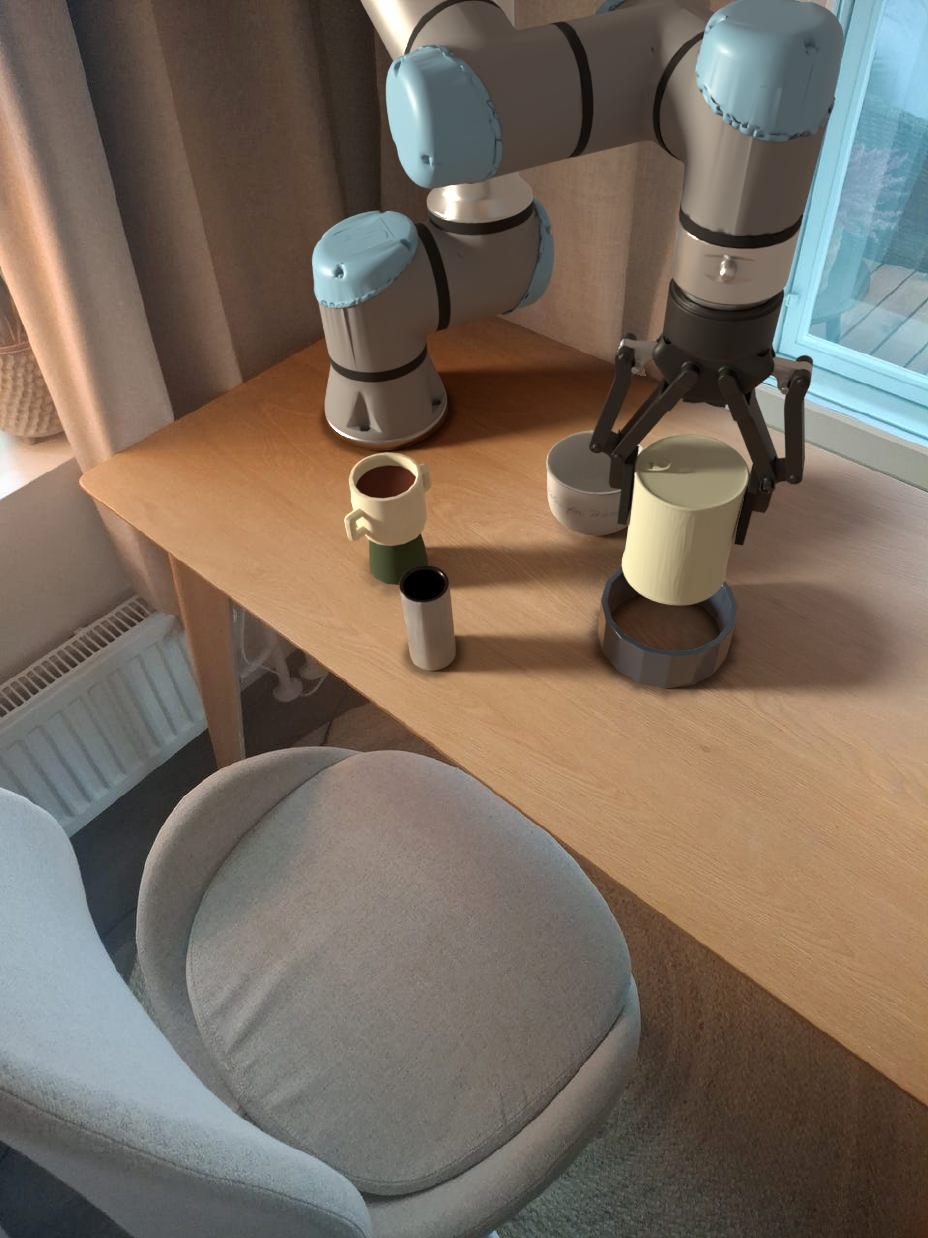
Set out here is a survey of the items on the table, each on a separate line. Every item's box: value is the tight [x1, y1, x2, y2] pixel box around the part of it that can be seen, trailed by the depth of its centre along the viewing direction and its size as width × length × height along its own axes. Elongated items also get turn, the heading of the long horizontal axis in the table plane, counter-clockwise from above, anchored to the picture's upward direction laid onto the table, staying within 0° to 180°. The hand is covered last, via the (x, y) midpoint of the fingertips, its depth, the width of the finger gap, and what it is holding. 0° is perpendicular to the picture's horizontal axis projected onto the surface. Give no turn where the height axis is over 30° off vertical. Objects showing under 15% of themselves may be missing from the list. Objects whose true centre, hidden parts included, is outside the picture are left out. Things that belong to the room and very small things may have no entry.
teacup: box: [545, 429, 645, 537], centre depth 97 cm, size 14×11×8 cm
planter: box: [398, 564, 457, 671], centre depth 85 cm, size 4×4×10 cm
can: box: [621, 433, 751, 606], centre depth 77 cm, size 9×9×12 cm
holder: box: [597, 565, 739, 689], centre depth 87 cm, size 12×12×5 cm
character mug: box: [344, 451, 432, 586], centre depth 92 cm, size 11×7×13 cm, turn 135°
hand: (681, 523), depth 77 cm, fingers closed on can, 9 cm apart
